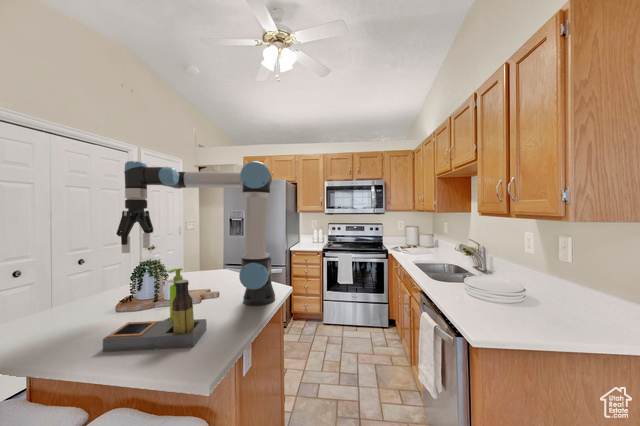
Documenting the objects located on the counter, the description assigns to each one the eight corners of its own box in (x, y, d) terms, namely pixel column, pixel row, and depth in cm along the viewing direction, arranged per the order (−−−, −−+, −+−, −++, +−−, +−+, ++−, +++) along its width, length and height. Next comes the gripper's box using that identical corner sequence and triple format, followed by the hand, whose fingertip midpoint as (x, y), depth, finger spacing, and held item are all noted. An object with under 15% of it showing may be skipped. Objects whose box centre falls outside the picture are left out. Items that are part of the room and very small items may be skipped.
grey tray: (206, 329, 94) (206, 318, 94) (193, 347, 82) (193, 333, 82) (128, 333, 91) (128, 321, 91) (102, 351, 79) (102, 338, 79)
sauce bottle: (191, 332, 92) (191, 277, 92) (196, 339, 87) (195, 281, 87) (171, 338, 88) (170, 280, 88) (174, 345, 83) (174, 284, 83)
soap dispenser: (164, 318, 104) (164, 269, 103) (180, 312, 110) (180, 266, 110) (173, 321, 101) (172, 271, 101) (189, 315, 107) (189, 267, 107)
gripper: (144, 200, 118) (145, 246, 118) (103, 197, 93) (104, 255, 94) (161, 200, 119) (162, 245, 119) (125, 197, 94) (126, 255, 94)
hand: (137, 250), depth 106 cm, fingers open, 13 cm apart
